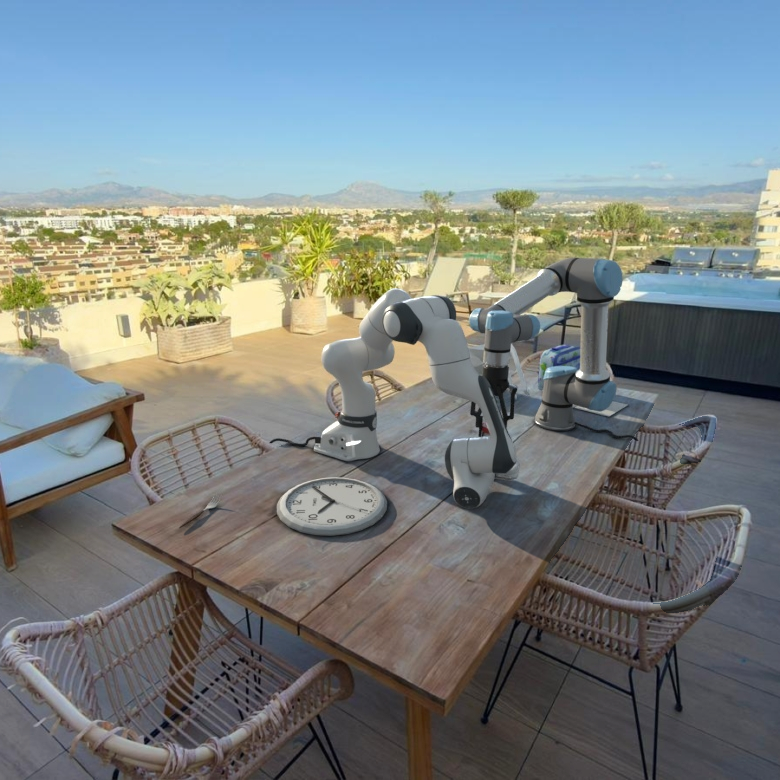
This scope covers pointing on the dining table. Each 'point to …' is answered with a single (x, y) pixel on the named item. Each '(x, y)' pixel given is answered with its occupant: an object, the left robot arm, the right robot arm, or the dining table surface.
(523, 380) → the white plastic object
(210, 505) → the fork
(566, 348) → the lunch box
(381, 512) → the wall clock
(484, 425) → the lid
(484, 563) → the dining table surface
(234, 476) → the dining table surface
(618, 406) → the invitation card
